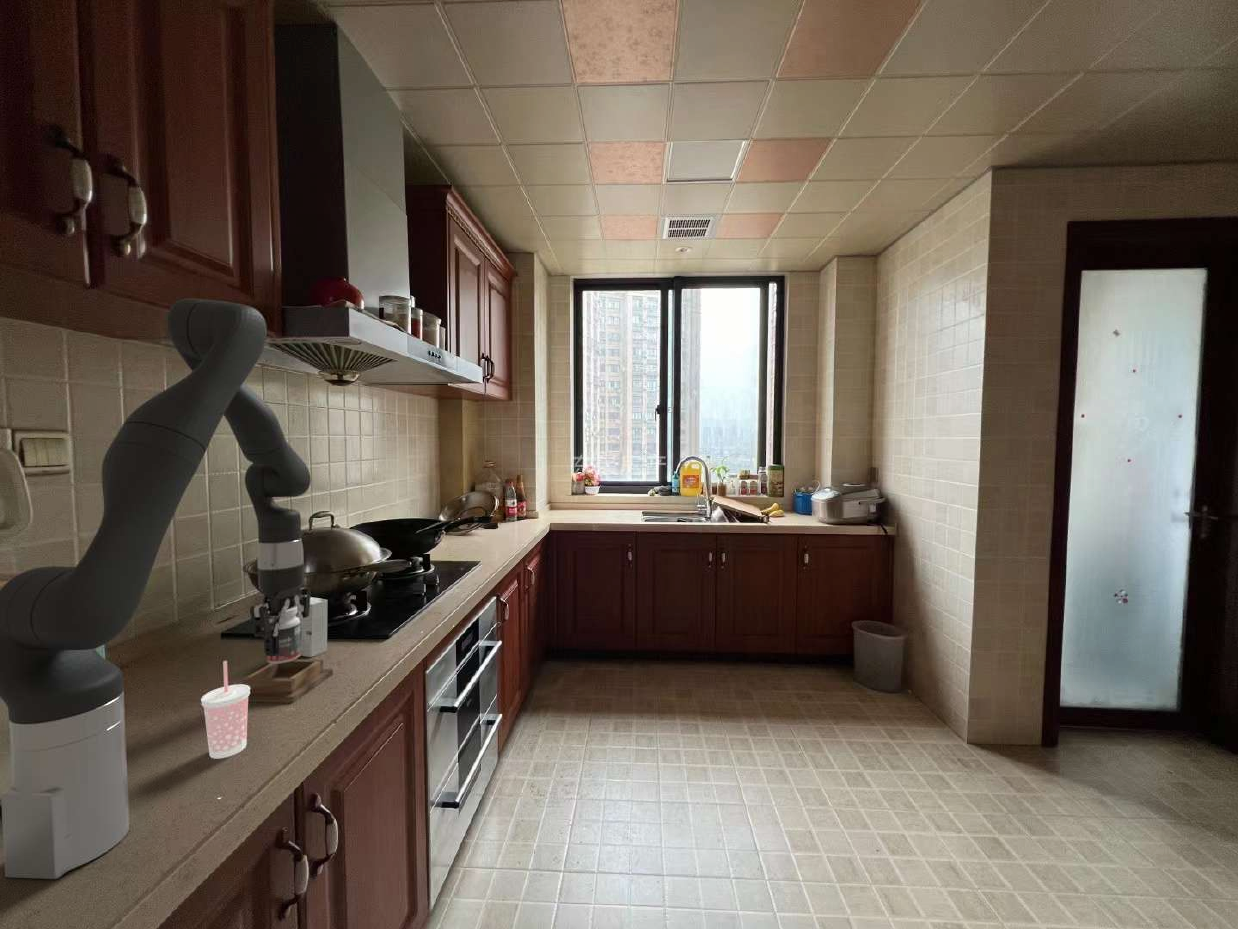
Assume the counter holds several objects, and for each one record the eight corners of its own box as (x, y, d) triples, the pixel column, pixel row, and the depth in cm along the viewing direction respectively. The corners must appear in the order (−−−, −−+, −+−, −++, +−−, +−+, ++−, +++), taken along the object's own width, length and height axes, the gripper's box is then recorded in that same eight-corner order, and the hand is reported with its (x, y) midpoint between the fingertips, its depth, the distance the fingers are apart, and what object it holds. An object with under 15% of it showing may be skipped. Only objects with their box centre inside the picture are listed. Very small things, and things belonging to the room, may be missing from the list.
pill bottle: (261, 666, 99) (259, 614, 99) (272, 655, 105) (271, 605, 104) (295, 662, 101) (294, 611, 100) (305, 651, 106) (303, 603, 106)
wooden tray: (293, 702, 97) (292, 683, 96) (231, 701, 97) (230, 682, 97) (332, 674, 109) (332, 657, 108) (277, 673, 109) (276, 656, 109)
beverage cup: (214, 742, 84) (211, 656, 83) (258, 736, 85) (255, 651, 85) (195, 764, 78) (191, 672, 77) (242, 757, 80) (239, 666, 79)
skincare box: (292, 654, 119) (290, 601, 119) (310, 647, 123) (308, 596, 123) (311, 658, 117) (310, 604, 117) (329, 650, 121) (328, 598, 121)
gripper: (273, 572, 95) (276, 664, 95) (322, 555, 109) (325, 635, 110) (233, 572, 95) (236, 663, 96) (288, 555, 109) (290, 635, 110)
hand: (284, 648), depth 103 cm, fingers closed on pill bottle, 5 cm apart
